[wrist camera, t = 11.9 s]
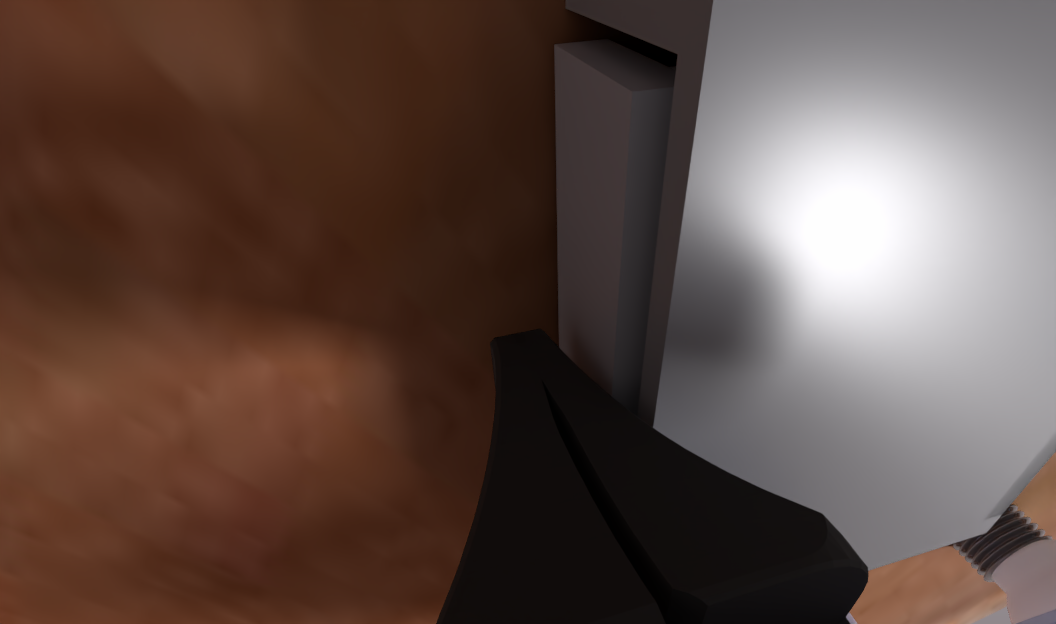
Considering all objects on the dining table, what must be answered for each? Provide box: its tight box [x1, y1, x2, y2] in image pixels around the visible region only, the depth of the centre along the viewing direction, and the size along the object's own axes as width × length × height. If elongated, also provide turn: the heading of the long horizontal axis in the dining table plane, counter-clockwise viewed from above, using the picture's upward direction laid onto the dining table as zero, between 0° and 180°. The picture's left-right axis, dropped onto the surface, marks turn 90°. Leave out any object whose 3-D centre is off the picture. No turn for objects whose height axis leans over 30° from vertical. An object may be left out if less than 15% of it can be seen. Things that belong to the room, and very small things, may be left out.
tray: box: [554, 39, 676, 416], centre depth 13 cm, size 11×13×3 cm
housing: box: [566, 0, 1056, 571], centre depth 13 cm, size 12×16×5 cm
